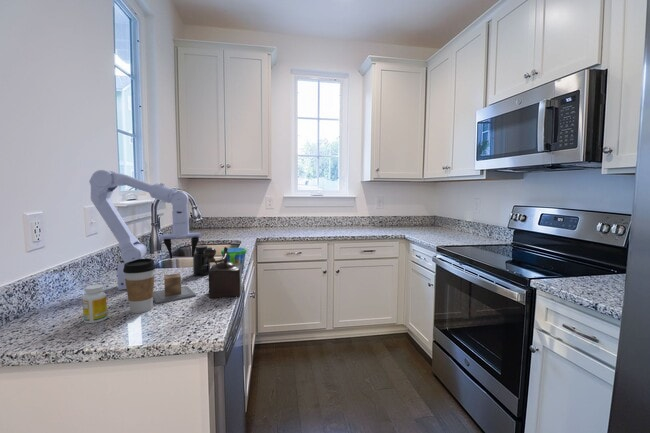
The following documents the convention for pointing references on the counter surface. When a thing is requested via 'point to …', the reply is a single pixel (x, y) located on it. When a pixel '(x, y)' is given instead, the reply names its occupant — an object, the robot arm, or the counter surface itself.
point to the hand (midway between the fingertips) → (182, 257)
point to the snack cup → (236, 256)
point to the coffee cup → (140, 284)
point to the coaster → (185, 293)
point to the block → (172, 284)
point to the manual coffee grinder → (223, 276)
